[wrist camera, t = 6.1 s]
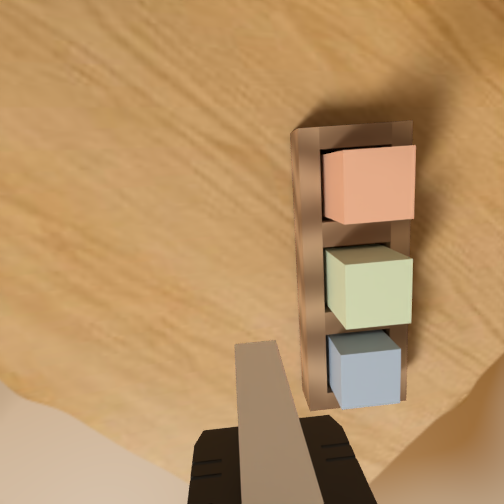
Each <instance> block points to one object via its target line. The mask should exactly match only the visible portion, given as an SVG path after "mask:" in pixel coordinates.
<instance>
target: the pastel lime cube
mask: <svg viewBox="0 0 504 504" xmlns="http://www.w3.org/2000/svg"><path fill="white" fill-rule="evenodd" d="M323 255H324V288H325V303H326V304H327V305H328V307H329V308H330V309H331V311H332V312H333V313H334V315H335V316H336V317H337V318H338V320H339V321H340V322H341V324H342V325H343V326H344V327H345V329H346V330H348V329H358V328H368V327H378V326H387V325H397V324H407V323H411V314H412V276H413V259H412V258H410V257H408V256H406V255H403V254H401V253H399V252H397V251H394V250H392V249H390V248H388V247H385V246H383V245H381V244H368V245H357V246H346V247H334V248H323Z"/></svg>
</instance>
